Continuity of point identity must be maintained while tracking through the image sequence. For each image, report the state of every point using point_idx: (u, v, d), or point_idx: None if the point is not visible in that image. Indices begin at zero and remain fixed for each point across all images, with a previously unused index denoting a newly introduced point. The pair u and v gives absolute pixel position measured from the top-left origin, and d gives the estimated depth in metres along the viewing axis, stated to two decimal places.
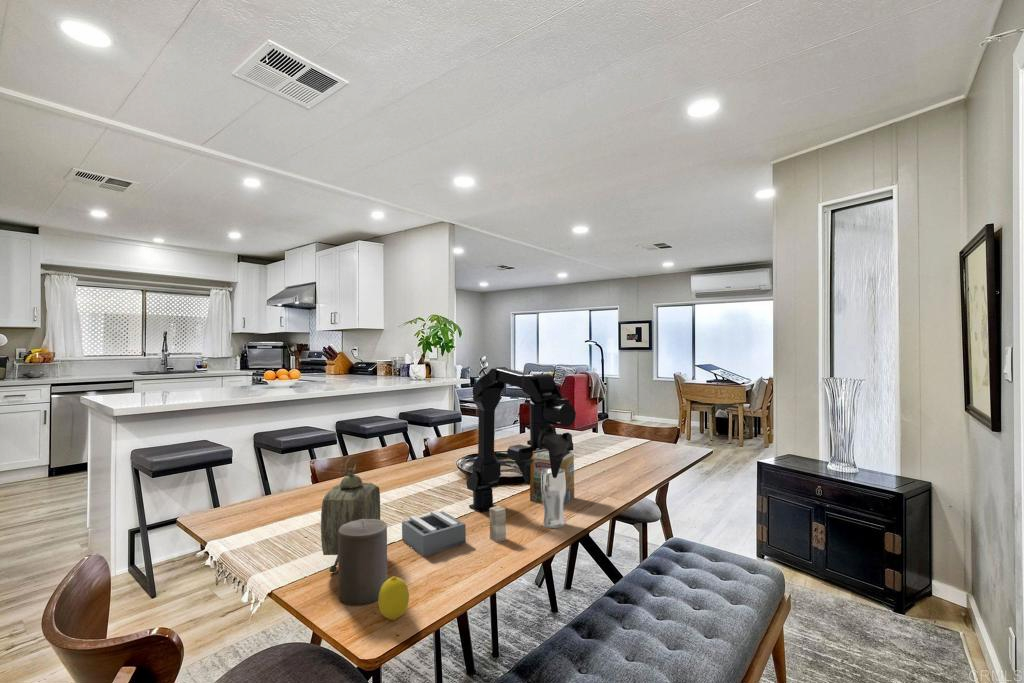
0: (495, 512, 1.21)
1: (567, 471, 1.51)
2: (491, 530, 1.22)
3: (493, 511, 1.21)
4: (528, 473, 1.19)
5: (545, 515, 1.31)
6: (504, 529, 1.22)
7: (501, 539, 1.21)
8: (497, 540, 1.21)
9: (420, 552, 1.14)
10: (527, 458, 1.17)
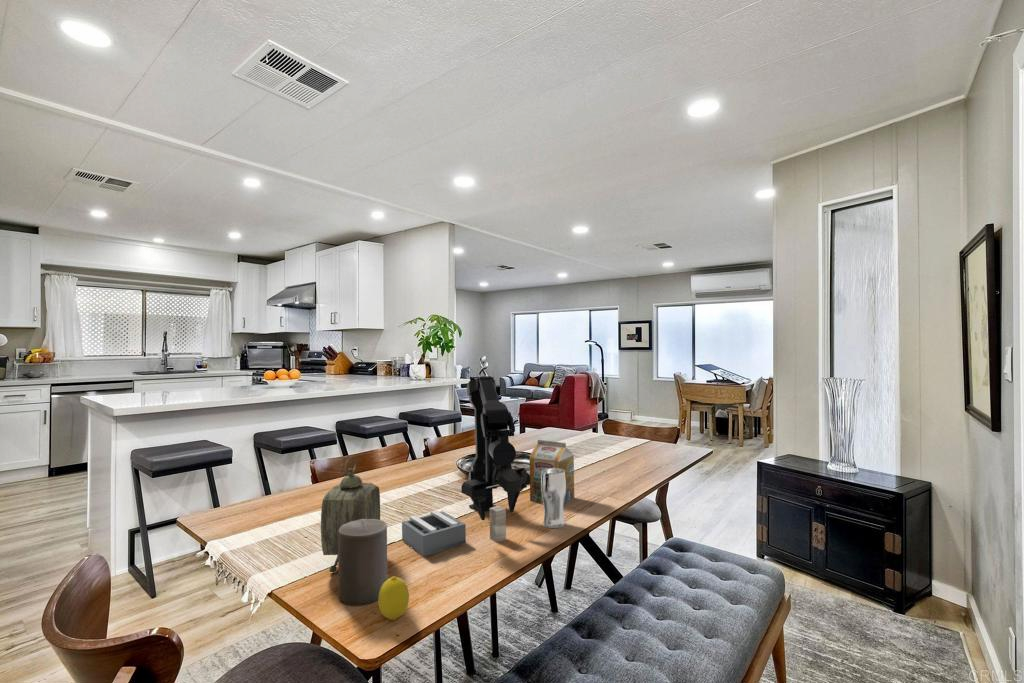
0: (495, 512, 1.21)
1: (567, 471, 1.51)
2: (491, 530, 1.22)
3: (493, 511, 1.21)
4: (482, 509, 1.18)
5: (545, 515, 1.31)
6: (504, 529, 1.22)
7: (501, 539, 1.21)
8: (497, 540, 1.21)
9: (420, 552, 1.14)
10: (480, 495, 1.16)
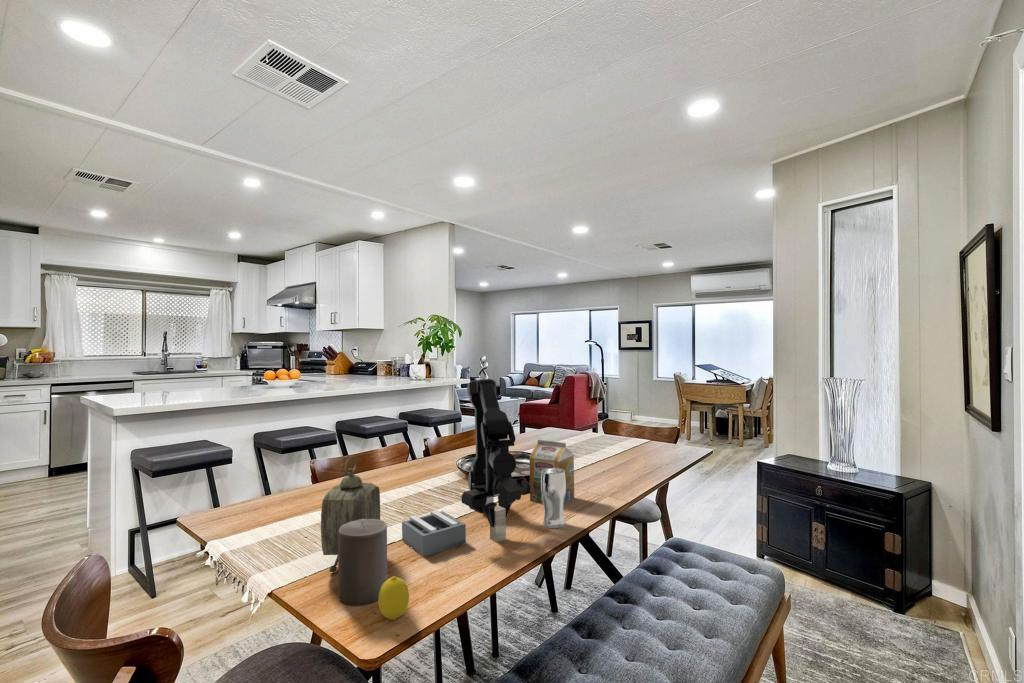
0: (495, 512, 1.21)
1: (567, 471, 1.51)
2: (491, 530, 1.22)
3: None
4: (492, 516, 1.20)
5: (545, 515, 1.31)
6: (504, 529, 1.22)
7: (501, 539, 1.21)
8: (497, 540, 1.21)
9: (420, 552, 1.14)
10: (480, 505, 1.16)
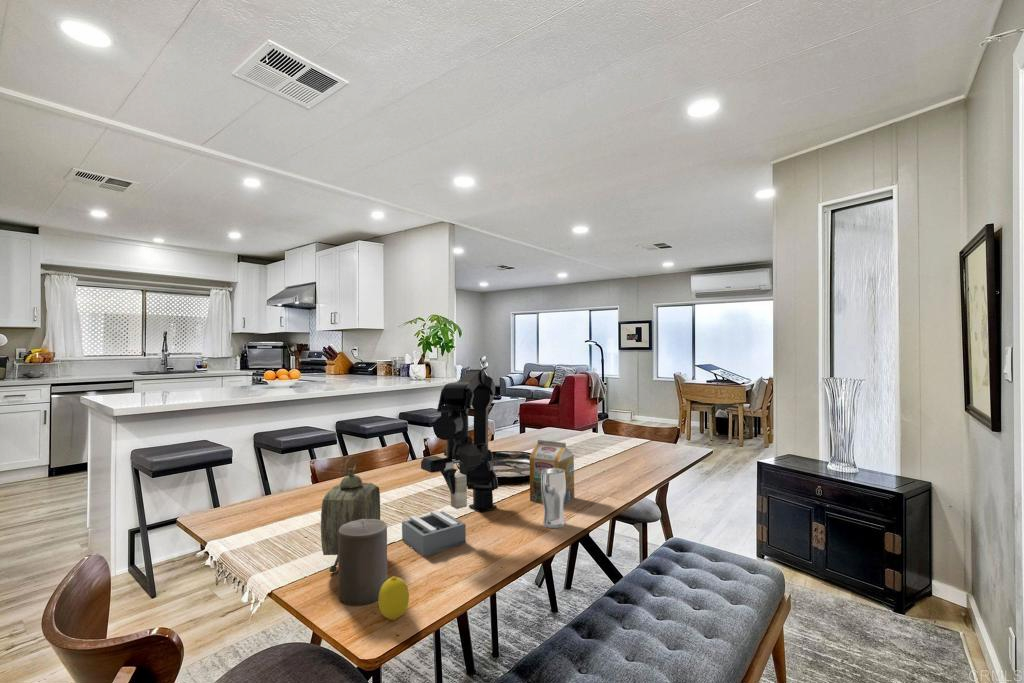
0: (455, 479, 1.20)
1: (567, 471, 1.51)
2: (451, 497, 1.21)
3: None
4: (452, 483, 1.19)
5: (545, 515, 1.31)
6: (465, 496, 1.21)
7: (462, 506, 1.20)
8: (457, 507, 1.20)
9: (420, 552, 1.14)
10: (439, 470, 1.15)
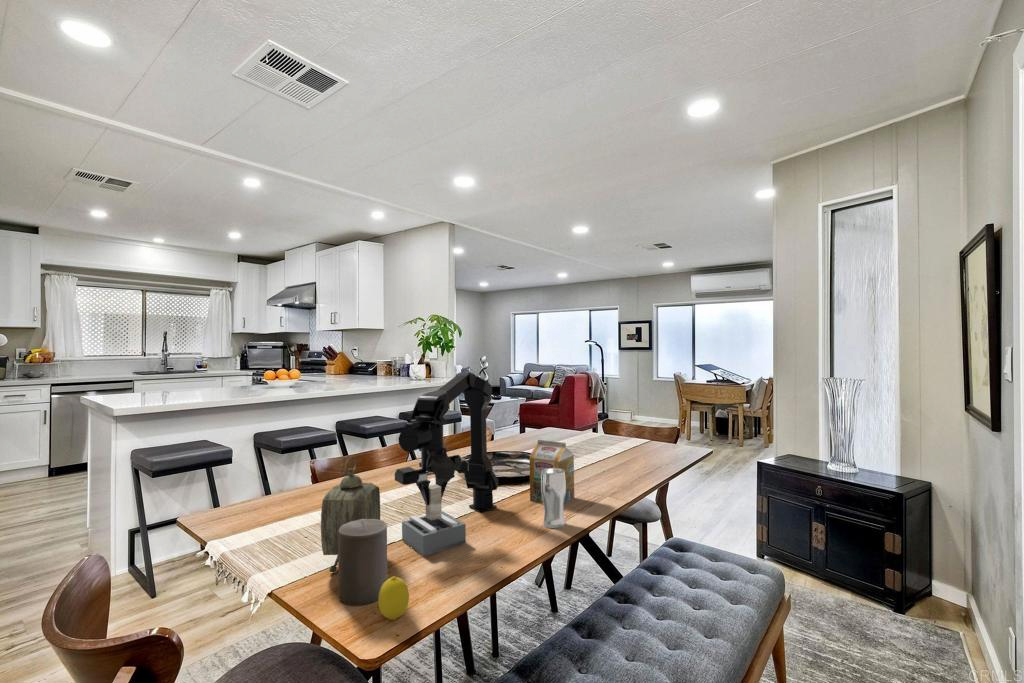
0: (429, 490, 1.19)
1: (567, 471, 1.51)
2: (426, 508, 1.21)
3: None
4: (426, 494, 1.19)
5: (545, 515, 1.31)
6: (439, 507, 1.21)
7: (436, 517, 1.20)
8: (432, 518, 1.19)
9: (420, 552, 1.14)
10: (412, 482, 1.14)
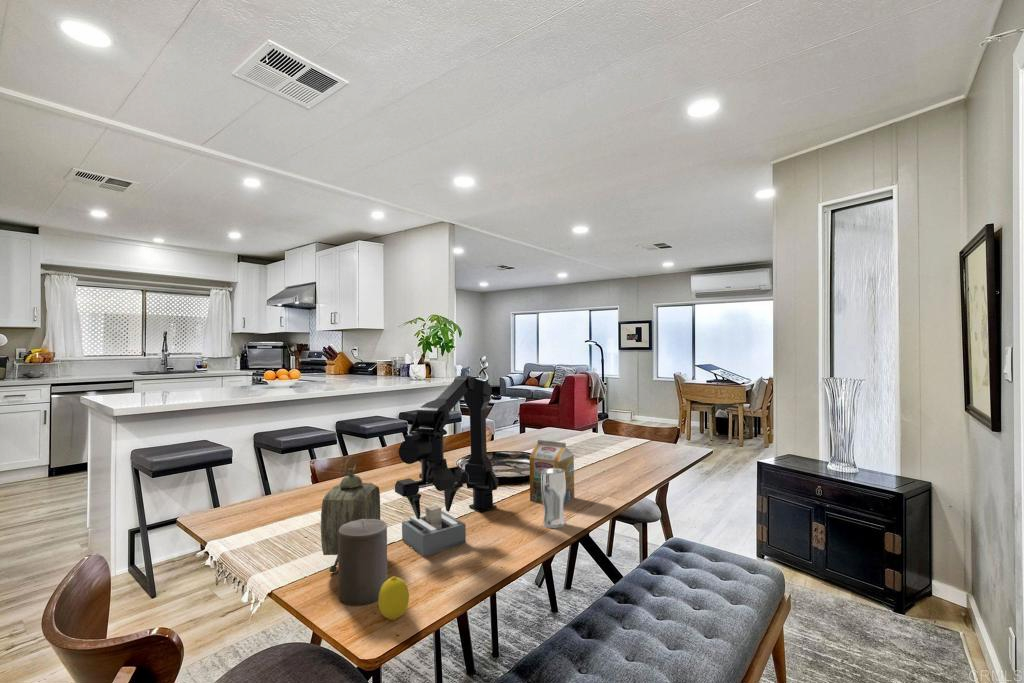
0: (430, 511, 1.19)
1: (567, 471, 1.51)
2: None
3: (428, 510, 1.20)
4: (417, 508, 1.17)
5: (545, 515, 1.31)
6: (440, 528, 1.21)
7: None
8: None
9: (420, 552, 1.14)
10: (412, 494, 1.14)
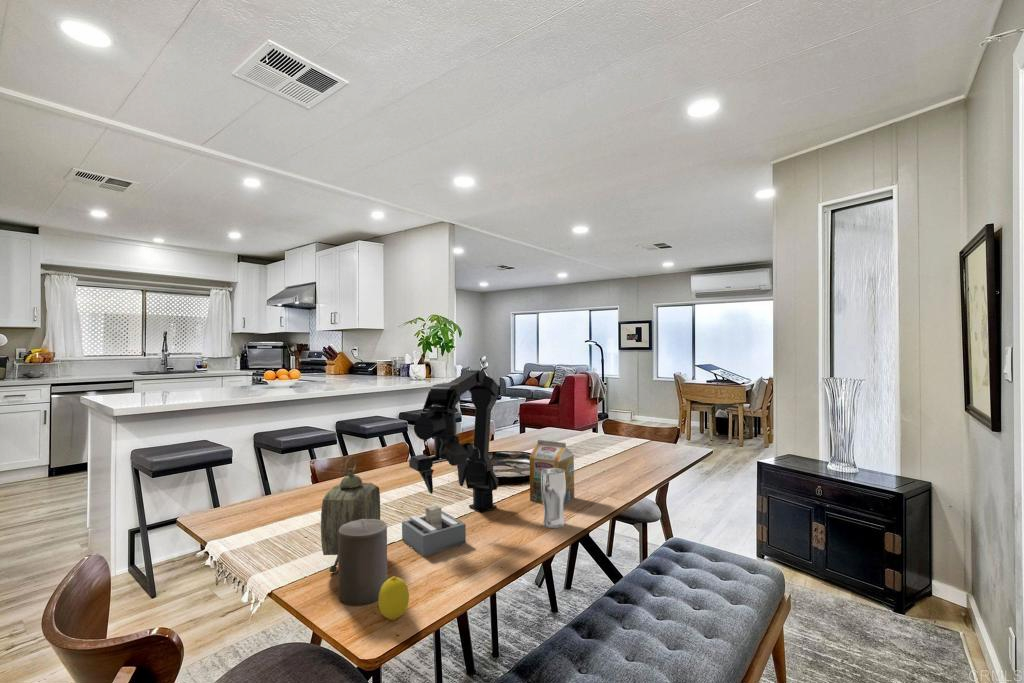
0: (430, 511, 1.19)
1: (567, 471, 1.51)
2: None
3: (428, 510, 1.20)
4: (430, 483, 1.22)
5: (545, 515, 1.31)
6: (440, 528, 1.21)
7: None
8: None
9: (420, 552, 1.14)
10: (426, 468, 1.19)
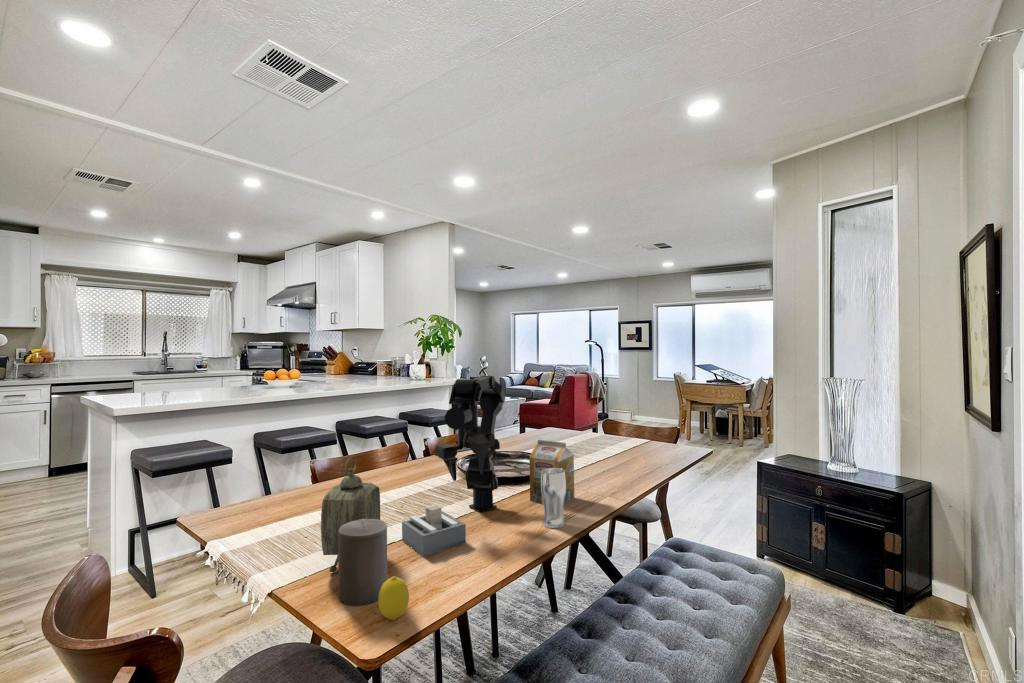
0: (430, 511, 1.19)
1: (567, 471, 1.51)
2: None
3: (428, 510, 1.20)
4: (454, 470, 1.29)
5: (545, 515, 1.31)
6: (440, 528, 1.21)
7: None
8: None
9: (420, 552, 1.14)
10: (451, 456, 1.27)
